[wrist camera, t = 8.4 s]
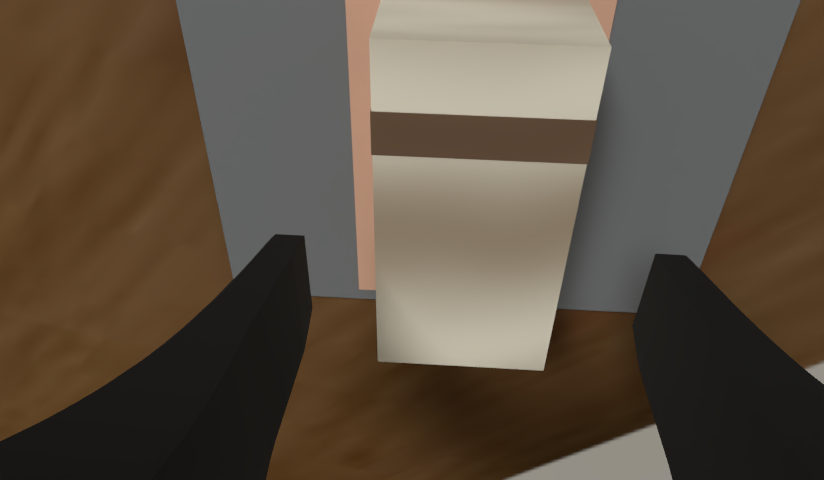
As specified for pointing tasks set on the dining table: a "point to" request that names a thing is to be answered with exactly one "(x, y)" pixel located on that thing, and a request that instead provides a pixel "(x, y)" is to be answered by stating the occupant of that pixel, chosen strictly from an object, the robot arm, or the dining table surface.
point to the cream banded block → (478, 172)
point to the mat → (351, 136)
